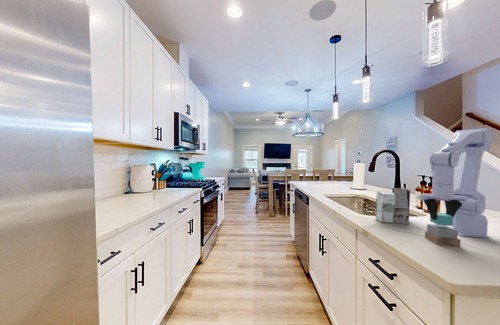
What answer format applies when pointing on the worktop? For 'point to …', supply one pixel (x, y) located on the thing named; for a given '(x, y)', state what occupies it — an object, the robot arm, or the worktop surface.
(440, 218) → the teal block
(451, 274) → the worktop surface
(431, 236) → the walnut base block
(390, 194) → the syrup box
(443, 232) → the grey middle block
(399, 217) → the coffee box
